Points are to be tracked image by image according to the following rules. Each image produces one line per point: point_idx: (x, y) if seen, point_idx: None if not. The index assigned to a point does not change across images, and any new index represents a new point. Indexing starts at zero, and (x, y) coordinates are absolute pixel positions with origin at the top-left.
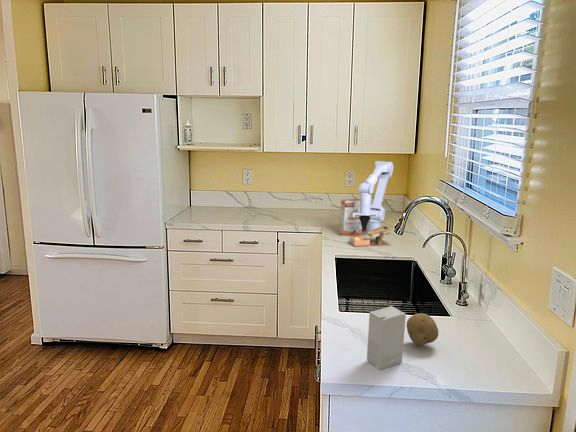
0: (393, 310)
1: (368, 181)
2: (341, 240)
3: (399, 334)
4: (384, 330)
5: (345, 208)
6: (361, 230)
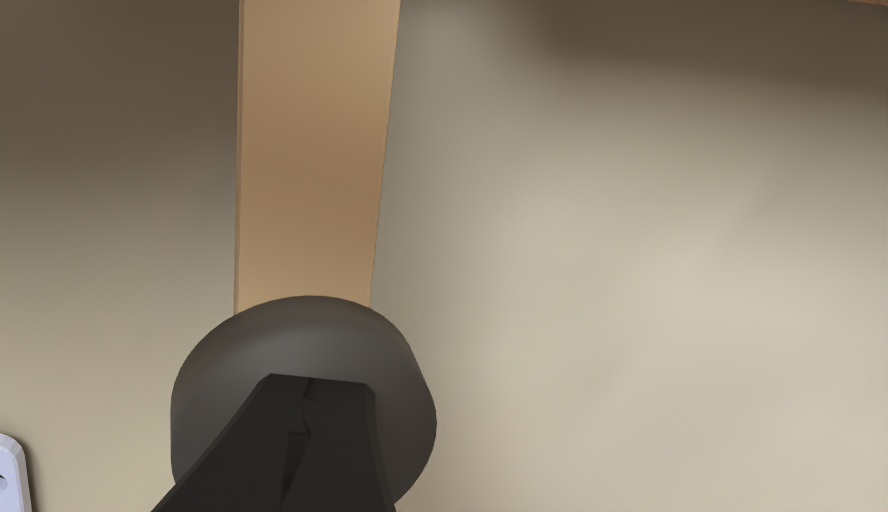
0: None
1: None
2: (884, 434)
3: None
4: None
5: None
6: (433, 439)
